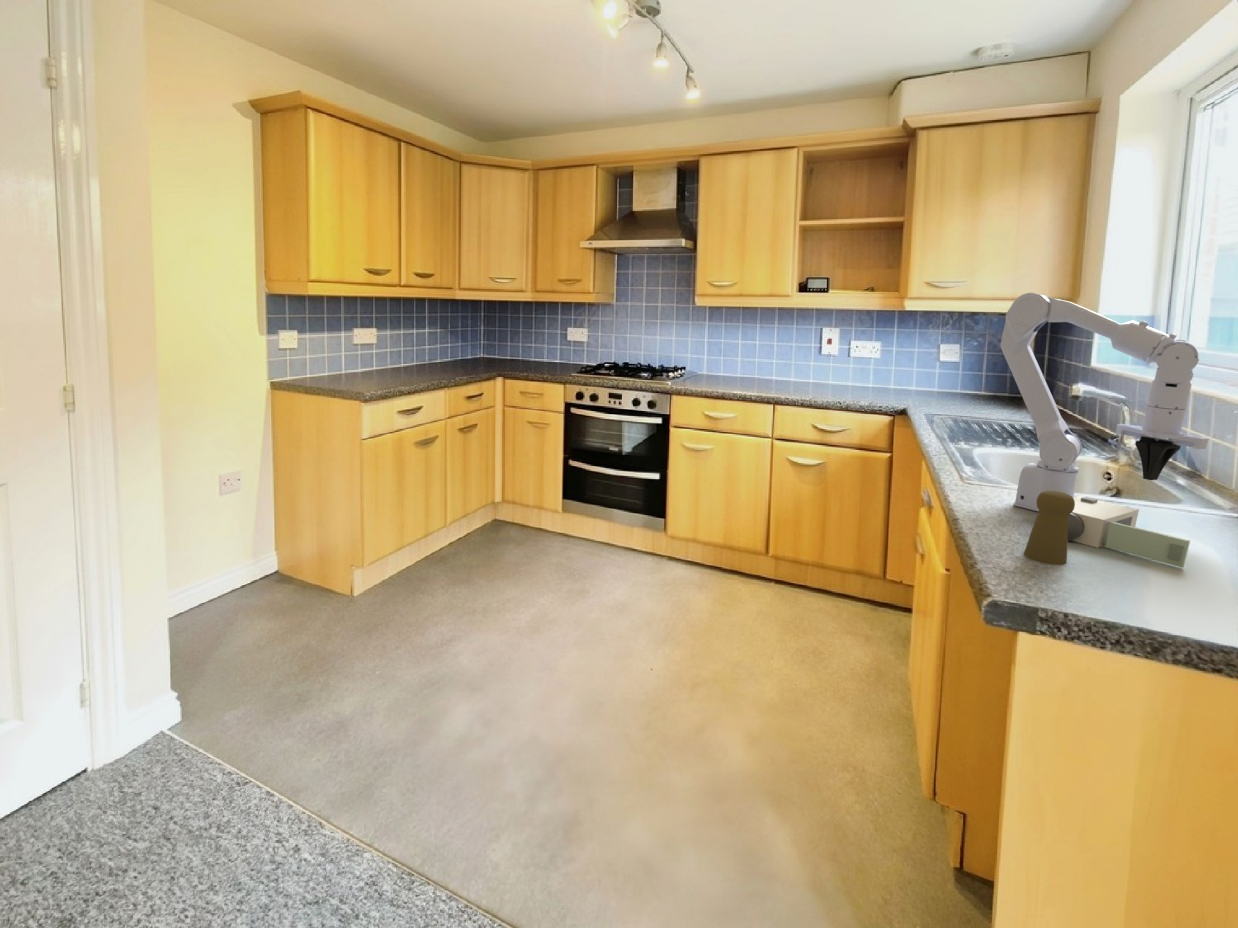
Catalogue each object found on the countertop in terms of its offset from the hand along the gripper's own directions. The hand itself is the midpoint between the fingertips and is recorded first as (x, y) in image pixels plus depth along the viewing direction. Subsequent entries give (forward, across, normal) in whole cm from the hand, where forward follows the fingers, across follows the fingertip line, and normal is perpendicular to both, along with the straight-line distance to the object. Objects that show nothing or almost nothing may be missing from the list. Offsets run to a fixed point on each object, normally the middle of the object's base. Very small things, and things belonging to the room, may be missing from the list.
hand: (1150, 479), depth 130 cm
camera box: (+9, 0, -15) cm, 18 cm away
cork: (+10, +7, -35) cm, 37 cm away
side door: (+9, +12, -19) cm, 24 cm away
